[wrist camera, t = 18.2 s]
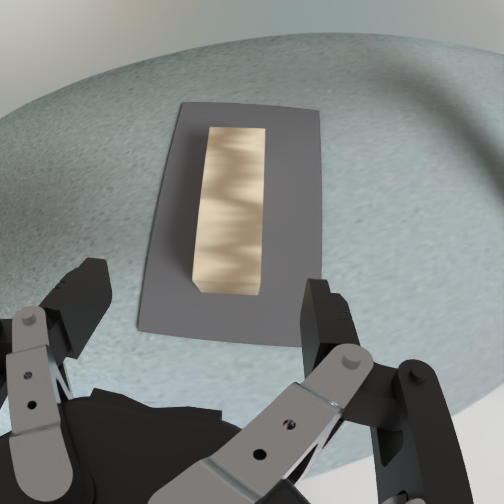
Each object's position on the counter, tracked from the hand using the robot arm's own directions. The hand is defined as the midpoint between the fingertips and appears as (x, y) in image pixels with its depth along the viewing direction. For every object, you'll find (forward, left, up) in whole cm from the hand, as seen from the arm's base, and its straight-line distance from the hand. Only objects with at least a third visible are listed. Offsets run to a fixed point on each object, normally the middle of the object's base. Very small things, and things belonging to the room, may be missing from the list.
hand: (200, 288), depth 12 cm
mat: (0, -11, -16) cm, 20 cm away
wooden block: (0, -3, -13) cm, 14 cm away
